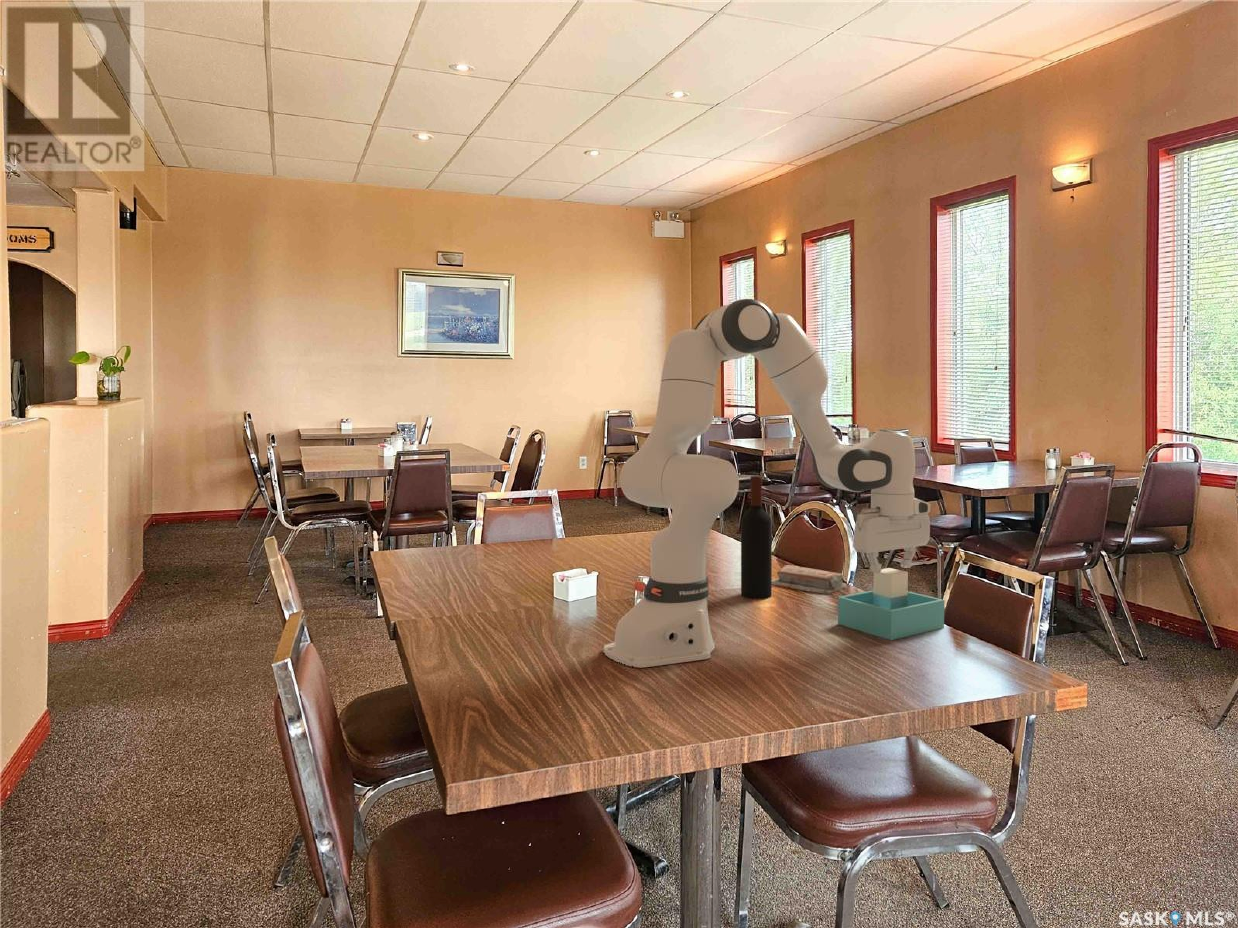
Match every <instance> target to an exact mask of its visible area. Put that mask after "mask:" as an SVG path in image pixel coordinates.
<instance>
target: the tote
mask: <svg viewBox="0 0 1238 928" xmlns="http://www.w3.org/2000/svg"><path fill="white" fill-rule="evenodd" d="M837 624H838V625H840V626H844V627H846V628H849V629H853V630H857V631H859V632H863V633H866V634H869V635H872V636H876V637H879V638H883V639H885V640H889V641H893V640H898V639H902V638H905V637H910V636H916V635H918V634H922V633H926V632H930V631H936V630H939V629H943V628H944V627H945V599H942V598H937V597H933V596H929V595H926V594H920V593H917V592H913V591H909V590H908V595H907V607H903V608H898V609H894V610H889V609H885V608H882V607H878V606H874V605H873V589H872V590H867V591H863V592H858V593H852V594H847V595H842V596H837Z"/></svg>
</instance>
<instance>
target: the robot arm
mask: <svg viewBox="0 0 1238 928" xmlns="http://www.w3.org/2000/svg"><path fill="white" fill-rule="evenodd" d="M749 355H750V356H753V357H754V358H755V359H756V360H758V361H759V362H760V364H761V365H762V367H763V368H764V371H765V372H766V374H767V376H768V378H769V379H770V381H771V383H772V384H773V386H774V387H775V389H776V391H777V392H778V394H779V395H780V397H781V399H783V401H784V403H785V404H786V406H787V408H788V409H789V411H790V412H791V415H792V417H793V419H794V421H795V423H796V425H797V427H798V428H799V431H800V432H801V435H802V436H803V438H804V441H805V442H806V445H807V446H808V449H809V451H810V454H811V459H812V469H813V472H814V475H815V478H816V479H817V480H818V481H819V483H821V485H823V486H825V487H827V488H829V489H831V490H832V489H834V490H835V489H836V490H841V491H842V490H844V491H846V492H854V493H861V492H864V491H865V492H866V491H870V490H871V491H870V508H863V509H861V511H860V512H859V513H858V514H857V516H856V521H855V525H854V530H853V539H852V547H853V549H854V551H855V552H857V553H861V554H866V559H867V560H868V562H869V565H870V566H869V568H870V569H869V570H870V572H871V573H873V574H874V573H877V572H881V569H882V563H879V561H878V557H879V554H880V553H879V552H888V551H894V550H895V551H896V550H902V549H903V551H905V552H904V555H903V558H900V567H901V568H903V569H908V568H909V569H911V567H912V565H913V564H912V561H913V558H914V556H915V554H916V552H917V547H923V546H924V547H925V546H927V544H928V543H929V541H930V536H931V535H930V534H931V532H930V531H931V520H930V515H929V514H930V512H931V504H930V503H929V502H926V501H924V500H921V499H919V498H917V497H915V488H914V482H913V481H914V477H915V473H916V455H915V446H914V441H913V438H912V437H911V436H910V435H909V434H907V433H905V432H901V431H896V430H889V429H888V430H887V429H879V430H876V431H875V433H874V434H872V435H871V436H870V437H868V438H865V439H864V440H862V441H860V442H857V443H855V444H853V445H847V444H845V443H844V442H843V441H841V440H840V439H839V438H838V437H837V435H836V433H835V432H834V429H833V426H832V425H831V423H830V421H829V420H828V418H827V415H826V413H825V411H824V409H823V405H822V397H823V395H824V393H825V391H826V390H827V387H828V385H829V376H828V373H827V372H828V371H827V368H826V367H825V364H824V361H823V360H822V357H821V355H820V354H819V352H818V351H817V349H816V346H815V345H814V344H813V342H812V341H811V339H810V338H809V337H808V335H807V334H806V332H805V331H804V330H803V328H801V326H800V325H799V324H798V322H797V321H796V320H795V319H794V318H793V317H792V316H791V315H789V314H787V313H782V312H780V313H778V312H777V313H775V312H773V311H772V310H771V309H770V308H769V307H768V306H767V305H766V304H765V303H763V302H761V301H759V300H757V299H753V298H743V299H737V300H735V301H733V302H732V303H729V304H724V305H721V306H719V307H718V308H716V309H714V310H713V311H712V312H710V313H708V314H706V315H704V316H703V317H702V318H701V319H700V320H699V322H698V323H697V324H696V326H695V328H694V329H691V328H690V329H685V330H684V329H683V330H680V331H678V332H677V333H675V334H674V335H672V337H671V338H670V341H669V343H668V346H667V350H666V353H665V355H664V356H665V357H664V362H663V365H662V366H663V367H662V370H661V371H662V372H661V377H660V387H659V393H658V402H657V408H656V412H655V413H656V414H655V419H654V421H653V422H654V423H653V425H652V428H651V430H650V432H649V434H648V436H647V438H646V440H645V441H644V443H643V444H642V445H641V447H639V449H638V450H637V451H636V452H635V453H634V454H633V455H631V456H630V457H629V458H627V460H626V461H624V463H623V466H622V468H621V470H620V474H619V482H620V488H621V491H622V493H623V495H624V496H625V498H626V499H628V500H629V501H631V502H634V503H637V504H640V505H643V506H647V507H653V508H661V509H662V508H664V509H671V510H672V511H671V512H672V513H671V518H670V522H669V524H668V526H666V527H664V528H662V529H660V530H659V531H658V532H657V533H656V534H655V535H654V536H653V537H652V539H651V541H650V576H649V578H648V580H647V583H645V582H644V581H641V580H636V581H634V583H633V584H632V585H633V590H634V591H637V592H639V593H643V597H642V598H641V599H640V600H639V601H638V602H637V603H636V604H635V605H634V606H633V607H631V609H630V610H629V611H627V612H626V614H625V615H623V616H622V617H621V618H620V619H619V620H618V622H617V624H616V628H615V634H614V642H609V643H608V644H605V645H604V646H603V654H604V653H605V654H604V655H605V656H607V657H608V658H609V659H611V660H612V659H613V660H612V661H614V662H617V663H619V662H620V663H619V664H621V663H622V665H624V664H625V666H628V667H632V666H633V668H648V667H649V668H650V667H658V666H665V665H666V666H667V665H673V664H679V663H686V662H695V661H702V660H708V659H710V658H711V656H712V655H711V653H712V652H713V651H714V650H715V643H714V639H713V636H712V632H711V631H712V630H711V626H710V620H709V619H710V618H709V611H708V598H709V595H710V594H709V593H710V592H709V578H708V577H707V551H708V540H709V535H710V533H711V530H712V528H713V525H714V523H715V521H716V520H717V518H718V517H719V516H720V515H721V514H722V512H724V511H725V510H726V509H728V508H729V507H730V506H731V505H732V504H733V503H734V501H735V500H736V498H737V495H738V492H739V486H740V481H739V475H738V472H737V470H736V468H735V466H734V465H733V464H732V462H730V461H729V460H726V459H723V458H720V457H716V456H713V455H709V454H690V453H688V454H687V452H688V450H689V448H690V446H691V444H692V443H693V441H694V440H695V439H697V438H698V437H699V436H702V434H705V433H706V432H707V431H708V430H709V429H710V427H711V425H712V422H713V416H714V407H715V398H716V388H717V376H718V375H717V374H718V370H719V367H720V365H721V363H726V362H728V361H732V360H738V359H739V360H740V359H742V358H744V357H747V356H749Z"/></svg>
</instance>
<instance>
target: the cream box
mask: <svg viewBox="0 0 1238 928" xmlns="http://www.w3.org/2000/svg"><path fill="white" fill-rule="evenodd" d="M872 576H873V584H872V585H873V587H872V588H873V589H872V590H873V593H874V594H878V595H882V596H886V597H890V598H894V597H899V596H904V595H908V591H909V590H908V587H909V586H908V584H909V577H908V576H909V571H905V570H901V569H895V568H891V567H886V568H881V572H877V573H874V572H873V575H872Z"/></svg>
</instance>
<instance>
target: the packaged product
mask: <svg viewBox="0 0 1238 928" xmlns="http://www.w3.org/2000/svg"><path fill="white" fill-rule="evenodd" d="M776 574H777V577H776V578H773V579H772V584H773V586H780V587H785V588H789V587H790V589H796V590H801V591H805V590H809V591H808V592H811V591H813V593H817V592H818V593H819V594H824V595H831V594H833V592H834V593H836V592H838V591H837V590H839V591H841V589H842V590H844V589H843V588H845V587H847V584H846V583H847V582H846V583H845V582H844V581H843V579H844V577H843V574H842V573H840V572H835V571H828V570H822V569H816V568H811V567H804V566H799V565H793V564H791V565H790V564H785V565H784V566H782V567H781V568H780V569H778V570H777V573H776ZM845 589H846V588H845ZM835 591H836V592H835ZM818 593H817V594H818Z"/></svg>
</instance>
